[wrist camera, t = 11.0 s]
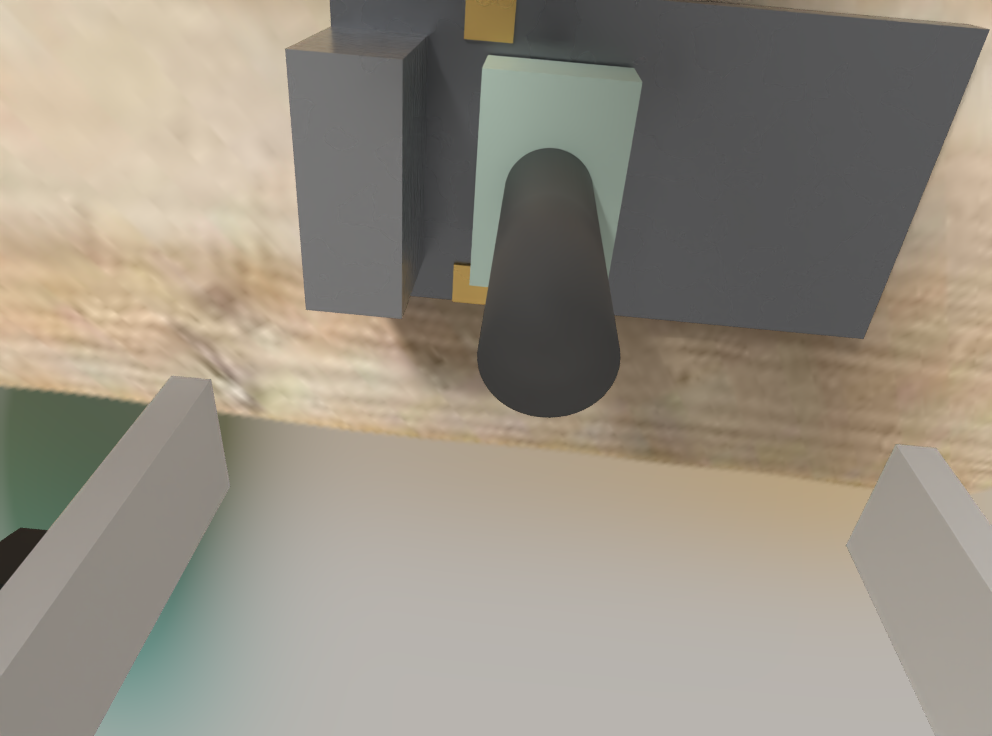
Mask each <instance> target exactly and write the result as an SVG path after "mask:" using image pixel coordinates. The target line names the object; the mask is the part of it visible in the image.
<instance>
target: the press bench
mask: <svg viewBox="0 0 992 736" xmlns="http://www.w3.org/2000/svg"><path fill="white" fill-rule="evenodd" d="M330 13H331V27H329V28H327V29H325V30H323V31H321V32H319V33H317V34H314V35H312V36H310V37H308V38H306V39H304V40H302V41H300V42H298V43H296V44H294V45H292V46H290V47H288V48H286V49H285V52H286V64H287V77H288V89H289V102H290V115H291V127H292V140H293V152H294V165H295V177H296V190H297V203H298V215H299V228H300V240H301V253H302V265H303V278H304V291H305V303H306V310H314V311H324V312H335V313H345V314H355V315H366V316H376V317H387V318H397V319H402V317H403V314H404V312H405V309H406V306H407V304H408V301H409V298H410V296H418V297H428V298H439V299H449V300H452V302H461V303H472V304H482V305H485V303H486V297H487V291H488V287H481V286H471V285H469V283H470V266H471V249H472V232H473V215H474V198H475V181H476V165H477V148H478V131H479V114H480V97H481V80H482V67H483V65H484V63H485V61H486V58H487V56H488V55H495V56H506V57H517V58H528V59H539V60H550V61H561V62H572V63H583V64H594V65H605V66H616V67H628V68H635V70H636V72H637V74H638V75H639V77H640V79H641V81H642V82H643V83H642V88H641V94H640V100H639V105H638V111H637V117H636V123H635V128H634V134H633V140H632V146H631V151H630V157H629V163H628V168H627V174H626V180H625V186H624V191H623V197H622V203H621V208H620V214H619V220H618V226H617V231H616V237H615V243H614V249H613V254H612V260H611V266H610V271H609V277H608V281H609V287H610V293H611V299H612V305H613V311H614V315H617V316H628V317H638V318H649V319H659V320H670V321H680V322H691V323H701V324H712V325H723V326H733V327H744V328H754V329H765V330H775V331H786V332H796V333H807V334H817V335H828V336H838V337H849V338H859V339H864V336H865V334H866V331H867V329H868V327H869V324H870V322H871V319H872V317H873V314H874V312H875V309H876V307H877V305H878V302H879V300H880V297H881V295H882V292H883V290H884V287H885V285H886V282H887V280H888V278H889V275H890V273H891V270H892V268H893V265H894V263H895V260H896V258H897V256H898V253H899V251H900V248H901V246H902V243H903V241H904V238H905V236H906V233H907V231H908V229H909V226H910V224H911V221H912V219H913V216H914V214H915V211H916V209H917V207H918V204H919V202H920V199H921V197H922V194H923V192H924V189H925V187H926V184H927V182H928V180H929V177H930V175H931V172H932V170H933V167H934V165H935V162H936V160H937V158H938V155H939V153H940V150H941V148H942V145H943V143H944V140H945V138H946V135H947V133H948V131H949V128H950V126H951V123H952V121H953V118H954V116H955V113H956V111H957V108H958V106H959V104H960V101H961V99H962V96H963V94H964V91H965V89H966V86H967V84H968V82H969V79H970V77H971V74H972V72H973V69H974V67H975V64H976V62H977V59H978V57H979V55H980V52H981V50H982V47H983V45H984V42H985V40H986V37H987V35H988V33H989V30H990V29H986V28H982V27H978V26H974V25H969V24H958V23H946V22H935V21H924V20H913V19H901V18H890V17H879V16H868V15H856V14H845V13H834V12H823V11H811V10H800V9H789V8H778V7H766V6H755V5H744V4H733V3H721V2H710V1H699V0H330Z"/></svg>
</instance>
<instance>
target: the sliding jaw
mask: <svg viewBox="0 0 992 736" xmlns="http://www.w3.org/2000/svg"><path fill="white" fill-rule="evenodd" d="M642 83H643V82H642V81H641V79H640V77H639V75H638V74H637V72H636V70H635V68H628V67H616V66H605V65H594V64H583V63H572V62H561V61H550V60H539V59H528V58H517V57H506V56H495V55H488V56H487V58H486V61H485V63H484V65H483V67H482V80H481V97H480V114H479V131H478V148H477V165H476V181H475V198H474V215H473V232H472V249H471V266H470V283H469V285H471V286H481V287H488V291H487V297H486V303H485V309H484V315H483V321H482V327H481V333H480V339H479V345H478V352H477V362H478V368H479V371H480V375H481V377H482V379H483V381H484V383H485V385H486V386H487V388H488V389H489V391H490V392H491V393H492V394H493V395H494V396H495V397H496V398H497V399H498V400H499V401H500V402H502V403H503V404H505V405H506V406H508V407H510V408H511V409H513V410H515V411H518V412H520V413H523V414H527V415H531V416H536V417H548V418H551V417H561V416H567V415H571V414H574V413H577V412H580V411H582V410H584V409H586V408H588V407H590V406H591V405H593V404H594V403H596V402H597V401H598V400H599V399H601V398H602V397H603V396H604V395H605V394H606V392H607V391H608V390H609V389H610V387H611V386H612V384H613V383H614V381H615V378H616V376H617V373H618V370H619V366H620V348H619V341H618V335H617V329H616V323H615V317H614V311H613V305H612V299H611V293H610V287H609V281H608V277H609V271H610V266H611V260H612V254H613V249H614V243H615V237H616V231H617V226H618V220H619V214H620V208H621V203H622V197H623V191H624V186H625V180H626V174H627V168H628V163H629V157H630V151H631V146H632V140H633V134H634V128H635V123H636V117H637V111H638V105H639V100H640V94H641V88H642Z"/></svg>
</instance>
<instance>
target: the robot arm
mask: <svg viewBox="0 0 992 736" xmlns="http://www.w3.org/2000/svg"><path fill="white" fill-rule="evenodd" d="M229 487H230V483H229V477H228V472H227V466H226V460H225V455H224V450H223V444H222V438H221V433H220V427H219V421H218V416H217V410H216V404H215V399H214V393H213V388H212V382H211V379H201V378H191V377H180V376H171V377H170V378H169V379H168V381H167V382H166V383H165V384H164V386H163V387H162V388H161V389H160V391H159V392H158V393H157V394H156V396H155V397H154V398H153V400H152V401H151V402H150V403H149V405H148V406H147V407H146V408H145V410H144V411H143V412H142V413H141V415H140V416H139V417H138V418H137V420H136V421H135V422H134V423H133V425H132V426H131V427H130V428H129V430H128V431H127V432H126V433H125V435H124V436H123V437H122V438H121V440H120V441H119V442H118V443H117V445H116V446H115V447H114V449H113V450H112V451H111V452H110V453H109V455H108V456H107V457H106V458H105V460H104V461H103V462H102V463H101V465H100V466H99V467H98V468H97V470H96V471H95V472H94V473H93V475H92V476H91V477H90V478H89V480H88V481H87V482H86V484H85V485H84V486H83V487H82V489H81V490H80V491H79V492H78V493H77V495H76V496H75V497H74V499H73V500H72V501H71V502H70V504H69V505H68V506H67V507H66V509H65V510H64V511H63V512H62V514H61V515H60V516H59V517H58V519H57V520H56V521H55V522H54V524H53V525H52V526H51V527H50V529H49V530H39V529H29V528H20V529H18V530H16V531H15V532H13V533H12V534H10V535H9V536H7V537H6V538H5V539H3V540H2V541H1V542H0V736H94V735H95V733H96V731H97V729H98V727H99V725H100V724H101V722H102V720H103V718H104V716H105V714H106V713H107V711H108V709H109V707H110V705H111V703H112V702H113V700H114V698H115V696H116V694H117V692H118V691H119V689H120V687H121V685H122V683H123V681H124V680H125V678H126V676H127V674H128V672H129V670H130V669H131V667H132V665H133V663H134V661H135V659H136V658H137V656H138V654H139V652H140V650H141V648H142V647H143V645H144V643H145V641H146V639H147V637H148V636H149V634H150V632H151V630H152V628H153V626H154V625H155V623H156V621H157V619H158V617H159V615H160V614H161V612H162V610H163V608H164V606H165V604H166V603H167V601H168V599H169V597H170V595H171V593H172V592H173V590H174V588H175V586H176V584H177V582H178V581H179V579H180V577H181V575H182V573H183V571H184V570H185V568H186V566H187V564H188V562H189V560H190V559H191V557H192V555H193V553H194V551H195V549H196V547H197V546H198V544H199V542H200V540H201V538H202V537H203V535H204V533H205V531H206V529H207V527H208V526H209V524H210V522H211V520H212V518H213V516H214V514H215V513H216V511H217V509H218V507H219V505H220V504H221V502H222V500H223V498H224V496H225V494H226V493H227V491H228V489H229ZM846 546H847V548H848V551H849V553H850V555H851V557H852V559H853V561H854V563H855V565H856V568H857V570H858V572H859V574H860V576H861V578H862V580H863V583H864V585H865V587H866V589H867V591H868V593H869V595H870V598H871V600H872V602H873V604H874V606H875V608H876V610H877V612H878V615H879V617H880V619H881V621H882V623H883V625H884V627H885V630H886V632H887V633H888V636H889V638H890V640H891V642H892V645H893V647H894V649H895V651H896V653H897V655H898V657H899V660H900V662H901V664H902V666H903V668H904V670H905V672H906V675H907V677H908V679H909V681H910V683H911V685H912V687H913V689H914V692H915V694H916V696H917V698H918V700H919V702H920V704H921V706H922V709H923V711H924V713H925V715H926V717H927V719H928V722H929V724H930V726H931V728H932V730H933V732H934V734H935V736H992V525H991V524H990V522H989V521H988V520H987V518H986V517H985V515H984V514H983V513H982V511H981V510H980V508H979V507H978V506H977V504H976V503H975V502H974V500H973V499H972V497H971V496H970V494H969V493H968V492H967V490H966V489H965V488H964V486H963V485H962V483H961V482H960V481H959V479H958V478H957V476H956V475H955V474H954V472H953V471H952V469H951V468H950V467H949V465H948V464H947V462H946V461H945V460H944V458H943V457H942V455H941V454H940V453H939V451H938V450H937V449H936V448H931V447H920V446H910V445H899V444H896V445H895V447H894V449H893V451H892V453H891V455H890V457H889V459H888V461H887V463H886V465H885V467H884V469H883V471H882V473H881V475H880V477H879V479H878V481H877V483H876V485H875V487H874V489H873V491H872V493H871V496H870V497H869V499H868V502H867V504H866V506H865V508H864V510H863V512H862V514H861V516H860V518H859V520H858V522H857V524H856V526H855V528H854V530H853V532H852V534H851V536H850V538H849V540H848V542H847V544H846Z"/></svg>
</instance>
